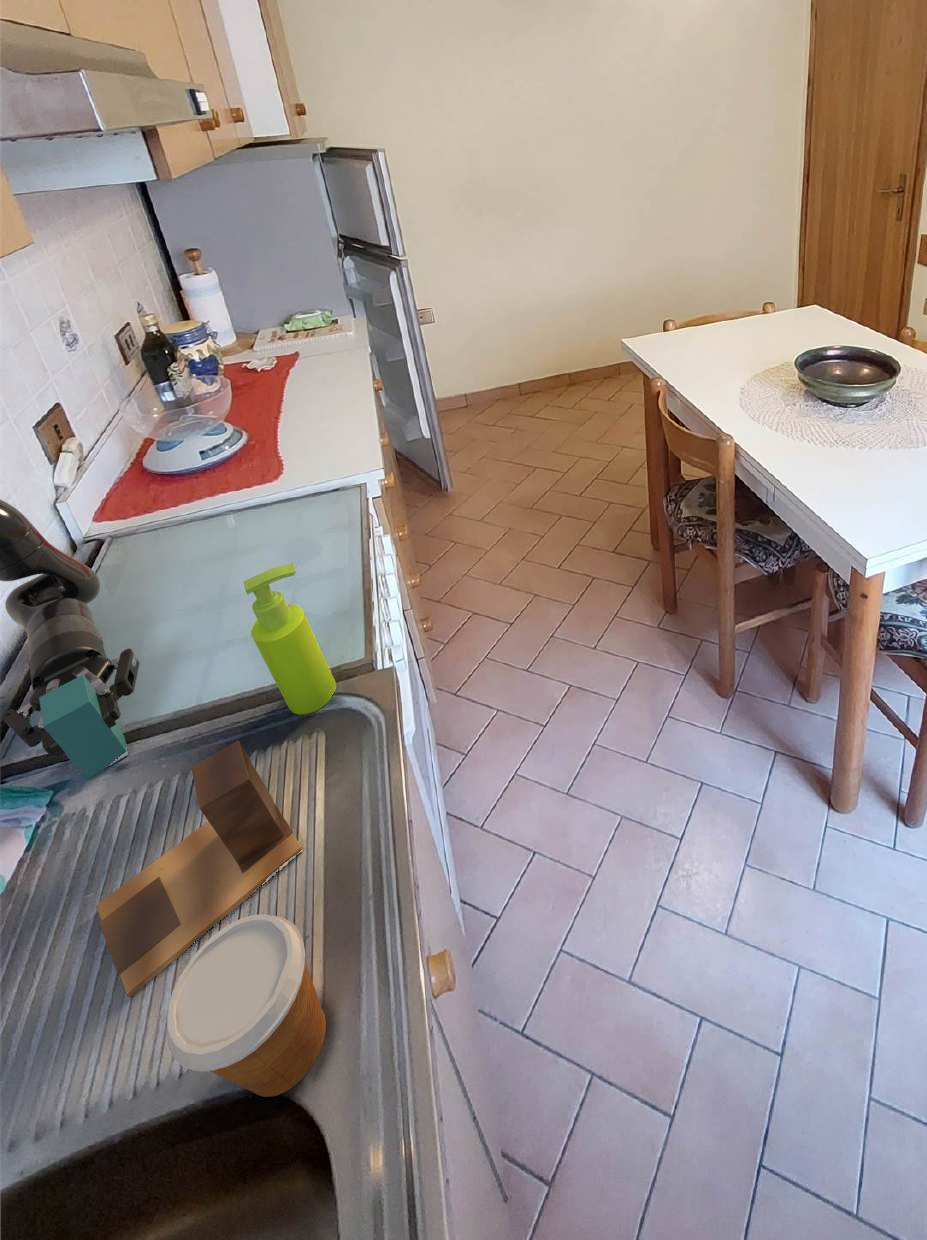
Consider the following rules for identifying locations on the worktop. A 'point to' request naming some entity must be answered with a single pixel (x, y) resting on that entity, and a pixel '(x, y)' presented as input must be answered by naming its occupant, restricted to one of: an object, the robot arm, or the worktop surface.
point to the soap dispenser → (289, 645)
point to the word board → (182, 900)
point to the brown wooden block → (236, 802)
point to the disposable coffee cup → (248, 1007)
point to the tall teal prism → (81, 727)
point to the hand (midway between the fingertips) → (84, 735)
